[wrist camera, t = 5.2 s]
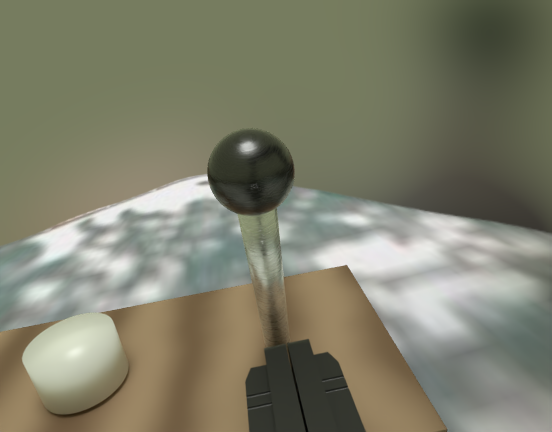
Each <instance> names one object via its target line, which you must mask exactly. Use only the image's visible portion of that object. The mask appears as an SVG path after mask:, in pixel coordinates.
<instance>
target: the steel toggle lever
mask: <svg viewBox="0 0 552 432" xmlns="http://www.w3.org/2000/svg"><path fill="white" fill-rule="evenodd" d="M207 172H208V173H207V176H208V181H209V185H210V188H211V190H212V192H213V194H214V196H215V197H216V199H217V200H218V201H219V202H220V203H221V204H222V205H223V206H224V207H226V208H227V209H229V210H230V211H232V212H235V213H237V214H238V218H239V222H240V227H241V232H242V237H243V242H244V246H245V251H246V256H247V261H248V265H249V270H250V275H251V280H252V284H253V289H254V294H255V299H256V304H257V308H258V313H259V318H260V323H261V327H262V332H263V337H264V342H265V346H266V348H267V347H272V346H276V345H281V344H285V345H286V349H288V347H287V343H290V335H289V325H288V315H287V305H286V296H285V286H284V276H283V266H282V256H281V246H280V236H279V226H278V217H277V207H278V206H279V205H280V204H282V203H283V202H284V200H285V199H286V198H287V196H288V195H289V193H290V191H291V189H292V186H293V182H294V174H295V169H294V163H293V159H292V156H291V154H290V152H289V150H288V149H287V147H286V146H285V145H284V143H283V142H282V141H281V140H280V139H279V138H277V137H276V136H275V135H273V134H271V133H269V132H267V131H264V130H260V129H255V128H254V129H253V128H247V129H241V130H237V131H234V132H232V133H230V134H228V135H227V136H226V137H224V138H223V139H222V140H221V141H220V142H219V143H218V144H217V145H216V147H215V148H214V150H213V151H212V153H211V156H210V158H209V162H208V169H207Z"/></svg>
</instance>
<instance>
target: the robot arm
mask: <svg viewBox="0 0 552 432" xmlns="http://www.w3.org/2000/svg"><path fill="white" fill-rule="evenodd" d="M287 347H288V353H289V357H288V353H287V349H286V345H285V344H281V345H276V346H272V347H267V348H264V353H265V359H266V365H262V366H258V367H253V368H250V371H249V373H248V376H247V378H246V381H245V386H246V397H247V409H248V423H249V432H366V430H365V428H364V426H363V423H362V421H361V418H360V415H359V413H358V410H357V408H356V405H355V403H354V400H353V398H352V395H351V392H350V390H349V388H348V385H347V382H346V380H345V378H344V375H343V372H342V369H341V367H340V364H339V362H338V361H337V360H336V359H335V358H334V357H333V356H332V355H331V354H330V353H329V352H324V353H319V354H315V355H314V354H313V351H312V348H311V344H310V341H309V339H305V340H300V341H295V342H290V343H287ZM289 360H290V362H289Z"/></svg>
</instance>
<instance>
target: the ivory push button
mask: <svg viewBox="0 0 552 432" xmlns="http://www.w3.org/2000/svg"><path fill="white" fill-rule="evenodd" d="M22 362H23V364H24V366H25V368H26V370H27V372H28V374H29V376H30V378H31V380H32V382H33V384H34V386H35V388H36V390H37V392H38V394H39V396H40V398H41V400H42V402H43V404H44V406H45V408H46V409H47V410H48V411H50V412H52V413H55V414H72V413H77V412H80V411H83V410H86V409H88V408H91V407H93V406H95V405H97V404H98V403H100V402H102V401H103V400H105V399H106V398H107V397H109V396H110V395H111V394H112V393H113V392H114V391H115V390H116V389H117V388H118V387H119V386H120V385H121V384H122V382H123V381H124V379H125V377H126V375H127V372H128V367H129V365H128V361H127V358H126V355H125V352H124V350H123V347H122V344H121V341H120V339H119V336H118V333H117V330H116V328H115V325H114V322H113V320H112V319H111V317H109V316H108V315H106V314H102V313H86V314H81V315H77V316H73V317H70V318H67V319H65V320H62V321H60V322H58V323H56V324H54V325H52V326H51V327H49V328H47V329H46V330H44V331H43V332H42V333H40V334H39V335H38V336H36V337H35V338H34V339H33V340H32V341H31V342H30V343H29V345H28V346H27V347H26V349H25V351H24V353H23V357H22Z"/></svg>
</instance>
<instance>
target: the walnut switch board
mask: <svg viewBox="0 0 552 432" xmlns="http://www.w3.org/2000/svg"><path fill="white" fill-rule="evenodd" d="M284 286H285V296H286V305H287V315H288V325H289V335H290V342H295V341H300V340H305V339H309V341H310V344H311V348H312V351H313V354H314V355H315V354H319V353H324V352H329V353H330V354H331V355H332V356H333V357H334V358H335V359H336V360H337V361H338V362H339V364H340V367H341V369H342V372H343V375H344V378H345V380H346V382H347V385H348V388H349V390H350V392H351V395H352V398H353V400H354V403H355V405H356V408H357V410H358V413H359V415H360V418H361V421H362V423H363V426H364V428H365V430H366V432H447V428H446V426H445V425H444V423H443V422H442V420H441V418H440V417H439V415H438V413H437V412H436V410H435V408H434V407H433V405H432V404H431V402H430V400H429V399H428V397H427V395H426V394H425V392H424V390H423V389H422V387H421V386H420V384H419V382H418V381H417V379H416V377H415V376H414V374H413V372H412V371H411V369H410V368H409V366H408V364H407V363H406V361H405V359H404V358H403V356H402V354H401V353H400V351H399V349H398V348H397V346H396V345H395V343H394V341H393V340H392V338H391V336H390V335H389V333H388V331H387V330H386V328H385V327H384V325H383V323H382V322H381V320H380V318H379V317H378V315H377V313H376V312H375V310H374V309H373V307H372V305H371V304H370V302H369V300H368V299H367V297H366V295H365V294H364V292H363V291H362V289H361V287H360V286H359V284H358V282H357V281H356V279H355V277H354V276H353V274H352V273H351V271H350V269H349V268H348V266H347V265H345V266H340V267H335V268H329V269H324V270H319V271H314V272H309V273H303V274H298V275H293V276H288V277H284ZM101 313H102V314H106V315H108V316H109V317H111V319H112V320H113V322H114V325H115V328H116V330H117V333H118V336H119V339H120V341H121V344H122V347H123V350H124V352H125V355H126V358H127V361H128V365H129V367H128V372H127V375H126V377H125V379H124V381H123V382H122V384H121V385H120V386H119V387H118V388H117V389H116V390H115V391H114V392H113V393H112V394H111V395H110V396H109V397H107V398H106V399H105V400H103V401H102V402H100V403H98V404H97V405H95V406H93V407H91V408H88V409H86V410H83V411H80V412H77V413H72V414H55V413H52V412H50V411H48V410H47V409H46V408H45V406H44V404H43V402H42V400H41V398H40V396H39V394H38V392H37V390H36V388H35V386H34V384H33V382H32V380H31V378H30V376H29V374H28V372H27V370H26V368H25V366H24V364H23V362H22V357H23V353H24V351H25V349H26V347H27V346H28V345H29V343H30V342H31V341H32V340H33V339H34V338H35V337H36V336H38V335H39V334H40V333H42V332H43V331H44V330H46V329H47V328H49V327H51V326H52V325H54V324H56V323H58V322H60V321H62V320H60V321H54V322H49V323H44V324H39V325H34V326H29V327H23V328H18V329H13V330H8V331H3V332H0V432H249V423H248V409H247V397H246V386H245V381H246V378H247V376H248V373H249V371H250V368H253V367H258V366H262V365H266V359H265V353H264V348H266V346H265V342H264V337H263V332H262V327H261V323H260V318H259V313H258V308H257V304H256V299H255V294H254V289H253V284H246V285H241V286H236V287H231V288H226V289H220V290H215V291H210V292H205V293H200V294H195V295H189V296H184V297H179V298H174V299H169V300H163V301H158V302H153V303H148V304H143V305H137V306H132V307H127V308H122V309H117V310H112V311H106V312H101ZM287 353H288V349H287ZM288 357H289V353H288ZM289 362H290V360H289Z"/></svg>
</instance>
